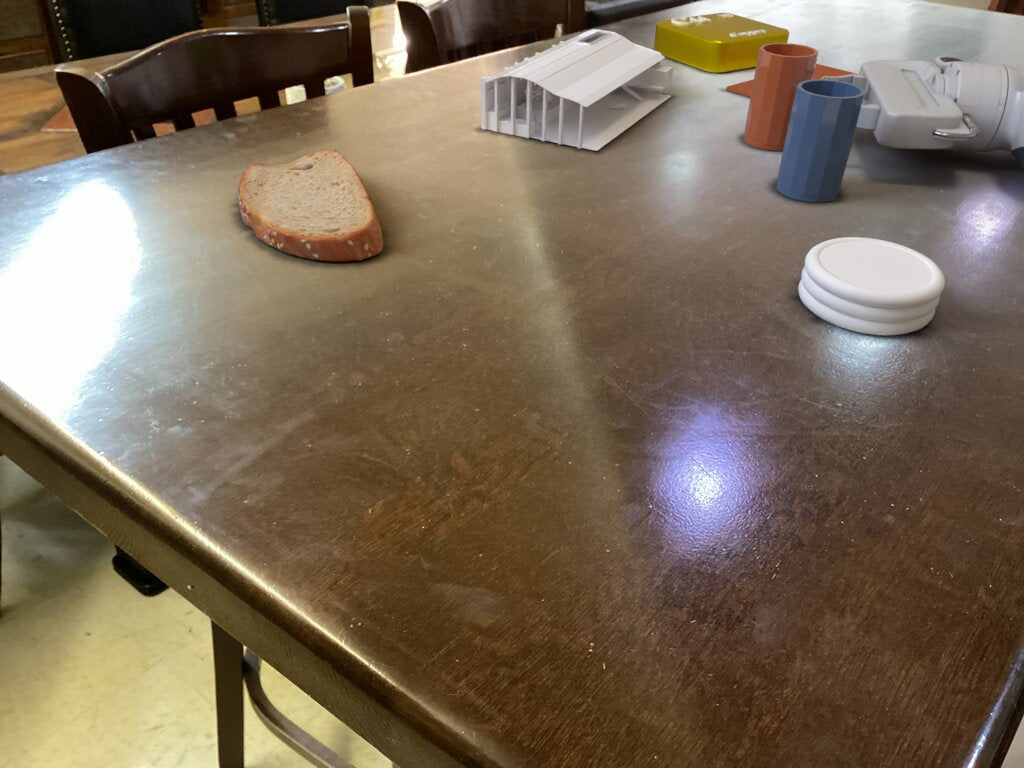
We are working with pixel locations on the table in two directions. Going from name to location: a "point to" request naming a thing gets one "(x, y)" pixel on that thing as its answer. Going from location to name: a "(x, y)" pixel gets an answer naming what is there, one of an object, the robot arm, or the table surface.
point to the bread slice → (311, 208)
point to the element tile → (715, 41)
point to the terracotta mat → (819, 72)
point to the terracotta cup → (776, 92)
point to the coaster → (870, 285)
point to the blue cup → (819, 139)
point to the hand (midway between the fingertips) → (824, 97)
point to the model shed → (576, 91)
